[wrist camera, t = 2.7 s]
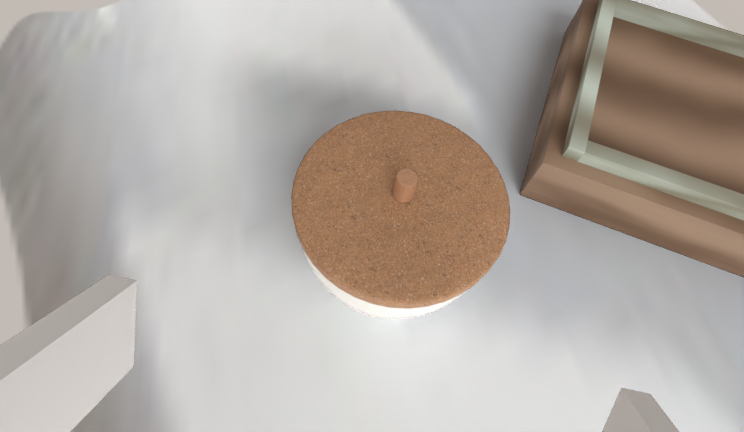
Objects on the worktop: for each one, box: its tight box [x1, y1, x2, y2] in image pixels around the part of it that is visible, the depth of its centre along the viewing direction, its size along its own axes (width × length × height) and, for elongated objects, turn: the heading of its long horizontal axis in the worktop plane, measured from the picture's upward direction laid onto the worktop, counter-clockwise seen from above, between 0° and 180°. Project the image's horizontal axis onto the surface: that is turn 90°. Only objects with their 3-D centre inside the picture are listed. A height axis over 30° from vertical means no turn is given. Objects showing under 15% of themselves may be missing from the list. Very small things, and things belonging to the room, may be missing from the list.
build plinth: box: [520, 0, 744, 277], centre depth 32 cm, size 18×18×5 cm
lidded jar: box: [291, 111, 510, 319], centre depth 24 cm, size 11×11×9 cm
